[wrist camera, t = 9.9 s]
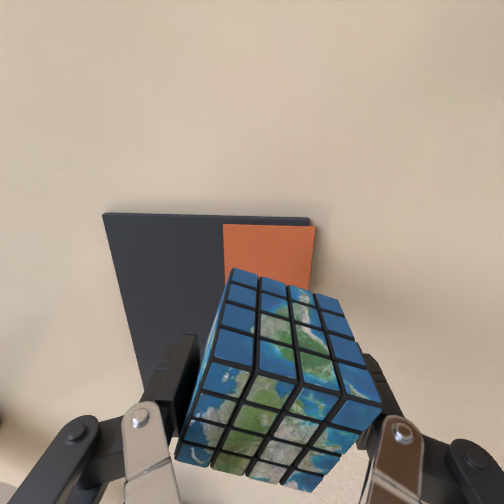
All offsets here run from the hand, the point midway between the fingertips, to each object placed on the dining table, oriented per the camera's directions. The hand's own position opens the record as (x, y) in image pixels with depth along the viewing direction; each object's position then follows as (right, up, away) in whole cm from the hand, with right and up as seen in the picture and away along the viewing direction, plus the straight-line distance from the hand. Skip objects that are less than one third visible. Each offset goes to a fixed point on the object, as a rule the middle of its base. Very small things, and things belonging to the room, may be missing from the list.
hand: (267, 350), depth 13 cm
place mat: (-5, -4, +13) cm, 14 cm away
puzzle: (0, +1, +2) cm, 2 cm away
